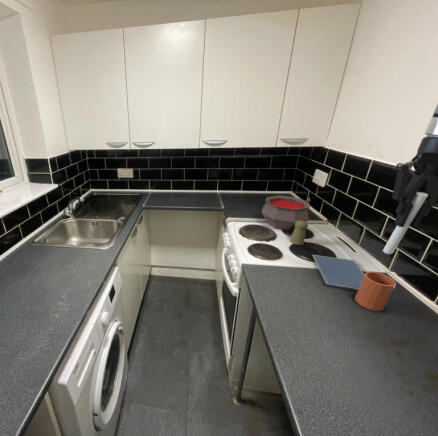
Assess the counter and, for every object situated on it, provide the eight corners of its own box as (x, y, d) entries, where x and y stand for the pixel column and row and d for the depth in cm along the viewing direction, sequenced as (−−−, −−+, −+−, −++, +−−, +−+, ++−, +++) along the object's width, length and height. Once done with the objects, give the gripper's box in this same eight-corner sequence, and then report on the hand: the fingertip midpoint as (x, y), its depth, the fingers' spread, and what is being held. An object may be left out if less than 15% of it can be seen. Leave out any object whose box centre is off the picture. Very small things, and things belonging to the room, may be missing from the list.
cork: (304, 240, 113) (309, 220, 108) (304, 246, 108) (309, 225, 104) (289, 237, 116) (294, 217, 111) (289, 243, 111) (294, 222, 107)
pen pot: (376, 298, 77) (388, 274, 73) (387, 313, 71) (401, 288, 67) (351, 293, 80) (361, 269, 76) (360, 308, 74) (371, 283, 70)
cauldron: (294, 216, 139) (300, 190, 132) (316, 235, 117) (325, 205, 111) (253, 215, 142) (257, 190, 135) (267, 234, 120) (273, 205, 113)
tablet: (353, 262, 96) (354, 260, 95) (377, 294, 79) (378, 292, 78) (311, 256, 101) (312, 254, 100) (325, 285, 84) (326, 283, 83)
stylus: (389, 252, 70) (425, 192, 60) (392, 256, 69) (430, 195, 58) (380, 251, 71) (413, 191, 61) (383, 255, 69) (418, 195, 59)
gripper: (414, 138, 54) (377, 227, 63) (510, 137, 48) (453, 235, 58) (396, 135, 60) (364, 217, 70) (479, 134, 55) (432, 223, 65)
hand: (405, 225), depth 64 cm, fingers closed on stylus, 2 cm apart
